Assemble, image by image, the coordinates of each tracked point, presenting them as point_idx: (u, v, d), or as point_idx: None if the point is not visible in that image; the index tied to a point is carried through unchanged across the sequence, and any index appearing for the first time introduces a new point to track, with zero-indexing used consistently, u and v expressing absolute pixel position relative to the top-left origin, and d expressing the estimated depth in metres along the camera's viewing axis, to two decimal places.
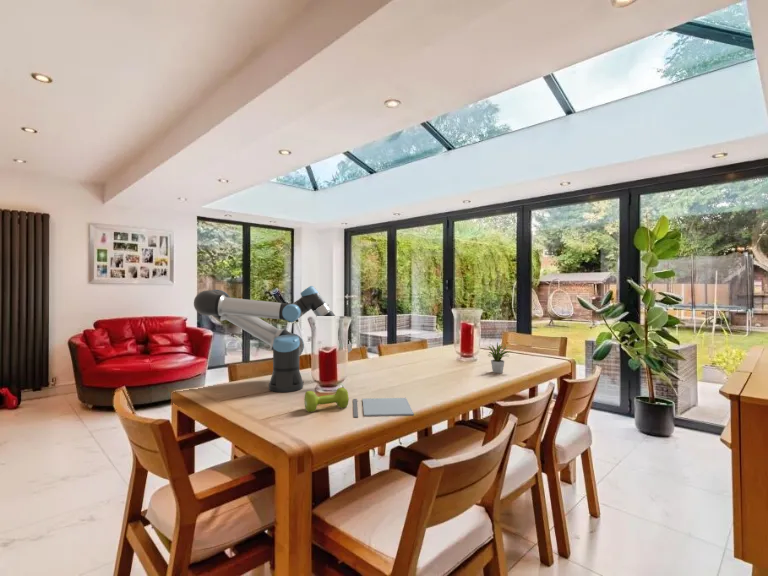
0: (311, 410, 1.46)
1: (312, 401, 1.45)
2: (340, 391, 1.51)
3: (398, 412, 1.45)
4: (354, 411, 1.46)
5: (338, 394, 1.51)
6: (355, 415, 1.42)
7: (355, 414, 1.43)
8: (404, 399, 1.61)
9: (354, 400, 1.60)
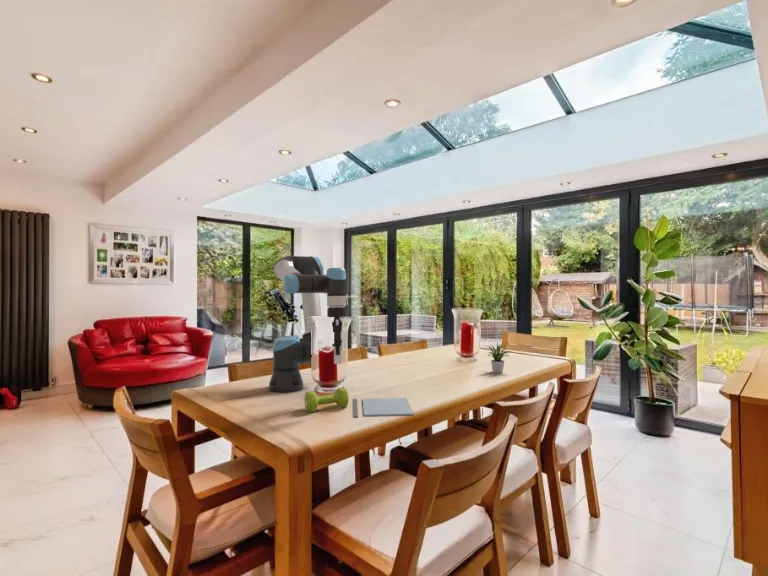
0: (311, 410, 1.46)
1: (312, 401, 1.45)
2: (340, 391, 1.51)
3: (398, 412, 1.45)
4: (354, 411, 1.46)
5: (338, 394, 1.51)
6: (355, 415, 1.42)
7: (355, 414, 1.43)
8: (404, 399, 1.61)
9: (354, 400, 1.60)
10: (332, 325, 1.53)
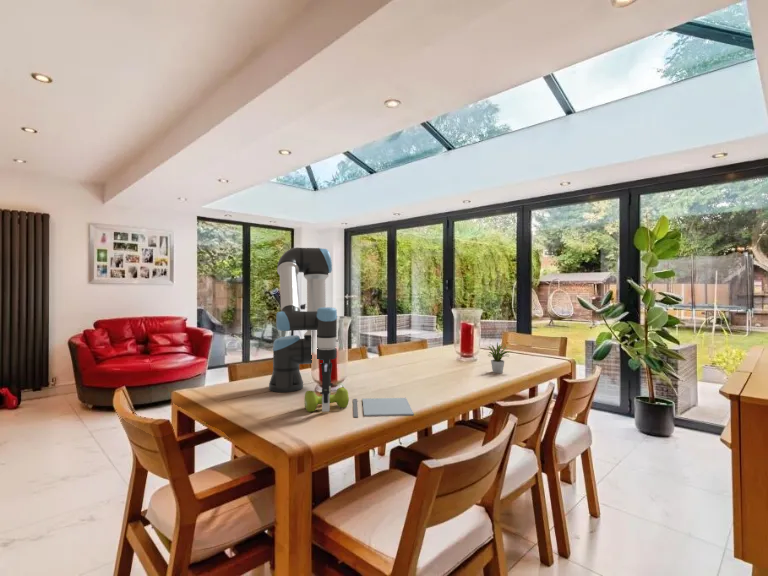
0: (311, 410, 1.46)
1: (311, 401, 1.45)
2: (340, 391, 1.51)
3: (398, 412, 1.45)
4: (354, 411, 1.46)
5: (338, 394, 1.51)
6: (355, 415, 1.42)
7: (355, 414, 1.43)
8: (404, 399, 1.61)
9: (354, 400, 1.60)
10: (321, 368, 1.49)
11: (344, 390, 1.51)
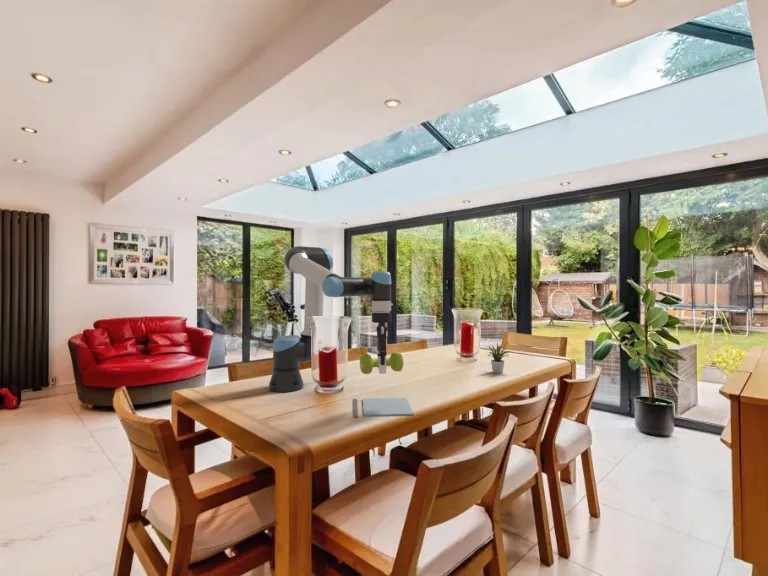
0: (367, 372, 1.47)
1: (368, 363, 1.46)
2: (395, 354, 1.52)
3: (398, 412, 1.45)
4: (354, 411, 1.46)
5: (393, 357, 1.52)
6: (355, 415, 1.42)
7: (355, 414, 1.43)
8: (404, 399, 1.61)
9: (354, 400, 1.60)
10: (377, 331, 1.50)
11: (399, 354, 1.52)
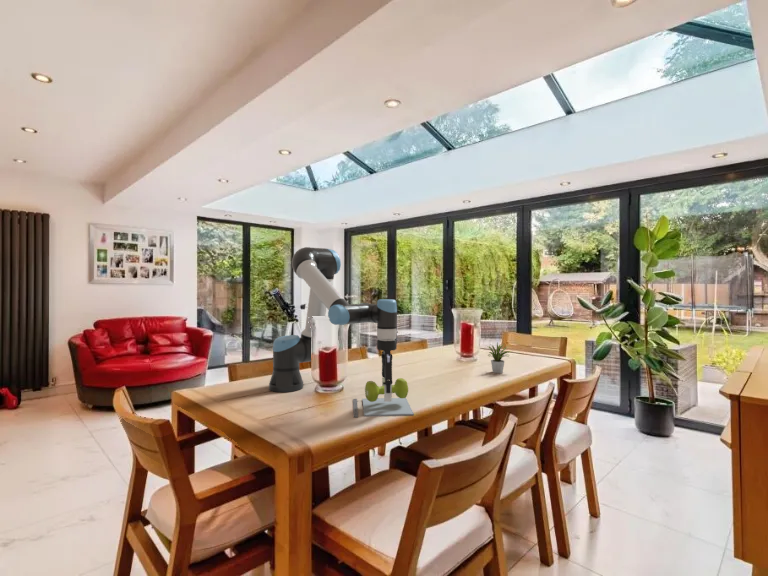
0: (373, 400, 1.48)
1: (374, 391, 1.47)
2: (400, 381, 1.53)
3: (398, 412, 1.45)
4: (354, 411, 1.46)
5: (398, 384, 1.53)
6: (355, 415, 1.42)
7: (355, 414, 1.43)
8: (404, 399, 1.61)
9: (354, 400, 1.60)
10: (382, 359, 1.51)
11: (404, 381, 1.53)
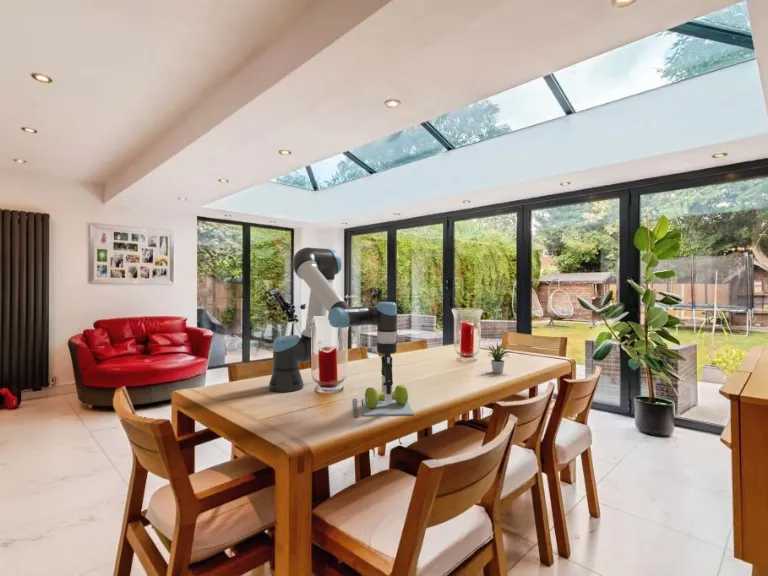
0: (372, 406, 1.48)
1: (373, 398, 1.47)
2: (400, 388, 1.53)
3: (398, 412, 1.45)
4: (354, 411, 1.46)
5: (398, 391, 1.53)
6: (355, 415, 1.42)
7: (355, 414, 1.43)
8: None
9: (354, 400, 1.60)
10: (382, 361, 1.50)
11: (403, 387, 1.53)
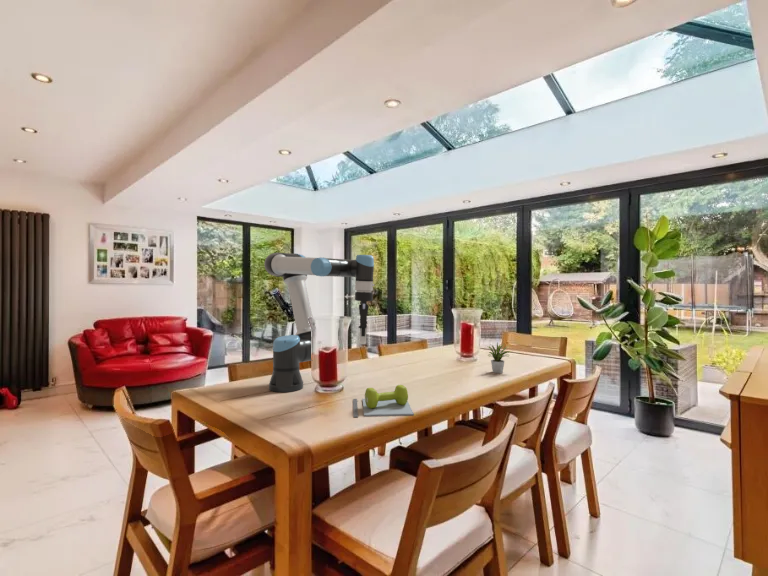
0: (372, 406, 1.48)
1: (373, 398, 1.47)
2: (400, 388, 1.53)
3: (398, 412, 1.45)
4: (354, 411, 1.46)
5: (398, 391, 1.53)
6: (355, 415, 1.42)
7: (355, 414, 1.43)
8: None
9: (354, 400, 1.60)
10: (359, 308, 1.66)
11: (403, 387, 1.53)
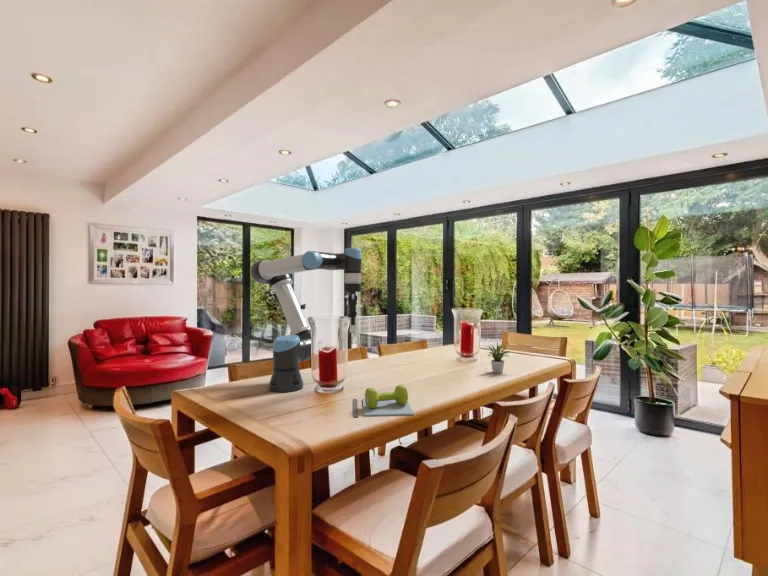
0: (372, 406, 1.48)
1: (373, 398, 1.47)
2: (400, 388, 1.53)
3: (398, 412, 1.45)
4: (354, 411, 1.46)
5: (398, 391, 1.53)
6: (355, 415, 1.42)
7: (355, 414, 1.43)
8: None
9: (354, 400, 1.60)
10: (348, 299, 1.74)
11: (403, 387, 1.53)
